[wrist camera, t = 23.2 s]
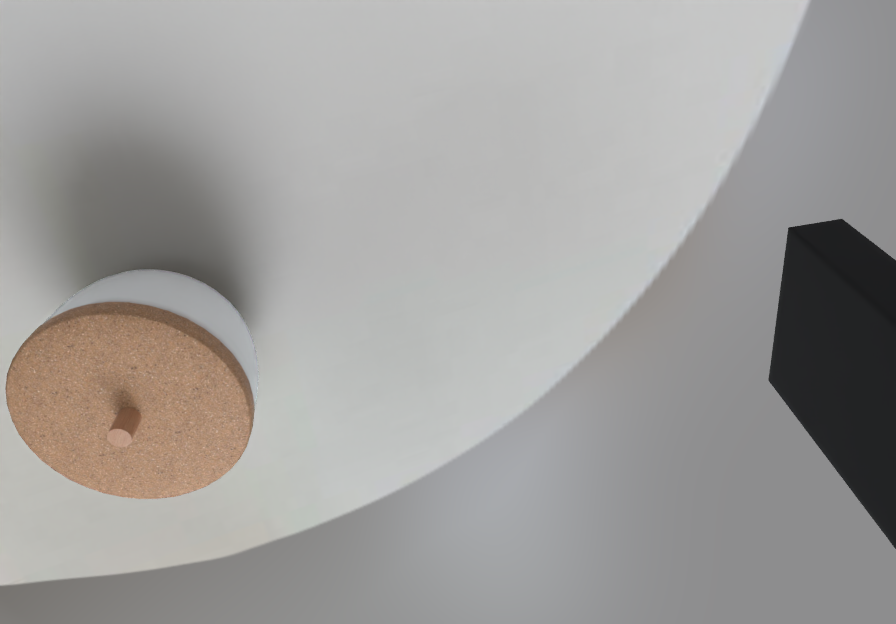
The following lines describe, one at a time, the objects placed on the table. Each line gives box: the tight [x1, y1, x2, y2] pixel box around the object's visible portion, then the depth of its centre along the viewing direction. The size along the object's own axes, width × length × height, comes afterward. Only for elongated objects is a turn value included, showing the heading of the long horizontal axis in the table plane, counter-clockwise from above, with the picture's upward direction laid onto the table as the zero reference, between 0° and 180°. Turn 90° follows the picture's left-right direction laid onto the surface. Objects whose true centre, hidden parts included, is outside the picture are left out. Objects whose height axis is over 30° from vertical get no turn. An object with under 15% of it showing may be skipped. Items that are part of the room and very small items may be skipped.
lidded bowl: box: [6, 269, 259, 499], centre depth 42 cm, size 13×13×11 cm
